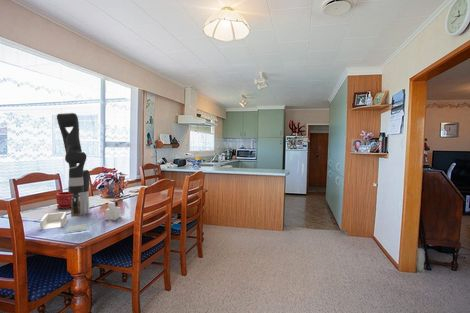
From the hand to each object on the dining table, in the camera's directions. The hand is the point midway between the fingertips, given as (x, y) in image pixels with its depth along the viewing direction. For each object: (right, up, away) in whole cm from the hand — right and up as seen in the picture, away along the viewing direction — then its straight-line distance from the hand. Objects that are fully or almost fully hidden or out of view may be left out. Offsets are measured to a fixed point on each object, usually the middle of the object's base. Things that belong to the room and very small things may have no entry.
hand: (76, 212), depth 139 cm
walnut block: (0, -2, 0) cm, 2 cm away
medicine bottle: (+10, -10, +23) cm, 27 cm away
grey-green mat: (0, -11, +1) cm, 11 cm away
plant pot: (-41, -8, +47) cm, 63 cm away
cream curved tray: (-18, -10, +6) cm, 22 cm away
